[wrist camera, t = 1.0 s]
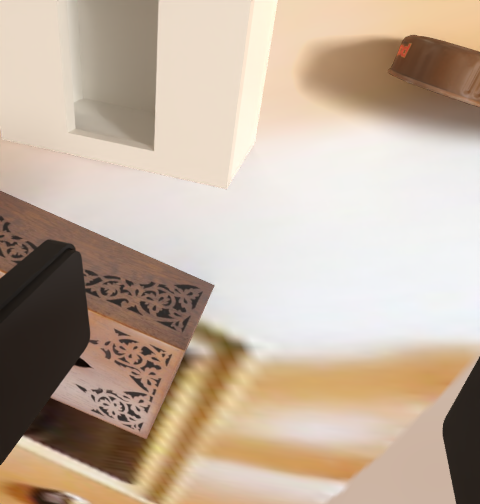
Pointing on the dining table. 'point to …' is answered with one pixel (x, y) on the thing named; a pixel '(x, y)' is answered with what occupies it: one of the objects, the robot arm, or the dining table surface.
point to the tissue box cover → (115, 317)
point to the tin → (439, 68)
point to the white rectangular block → (137, 81)
